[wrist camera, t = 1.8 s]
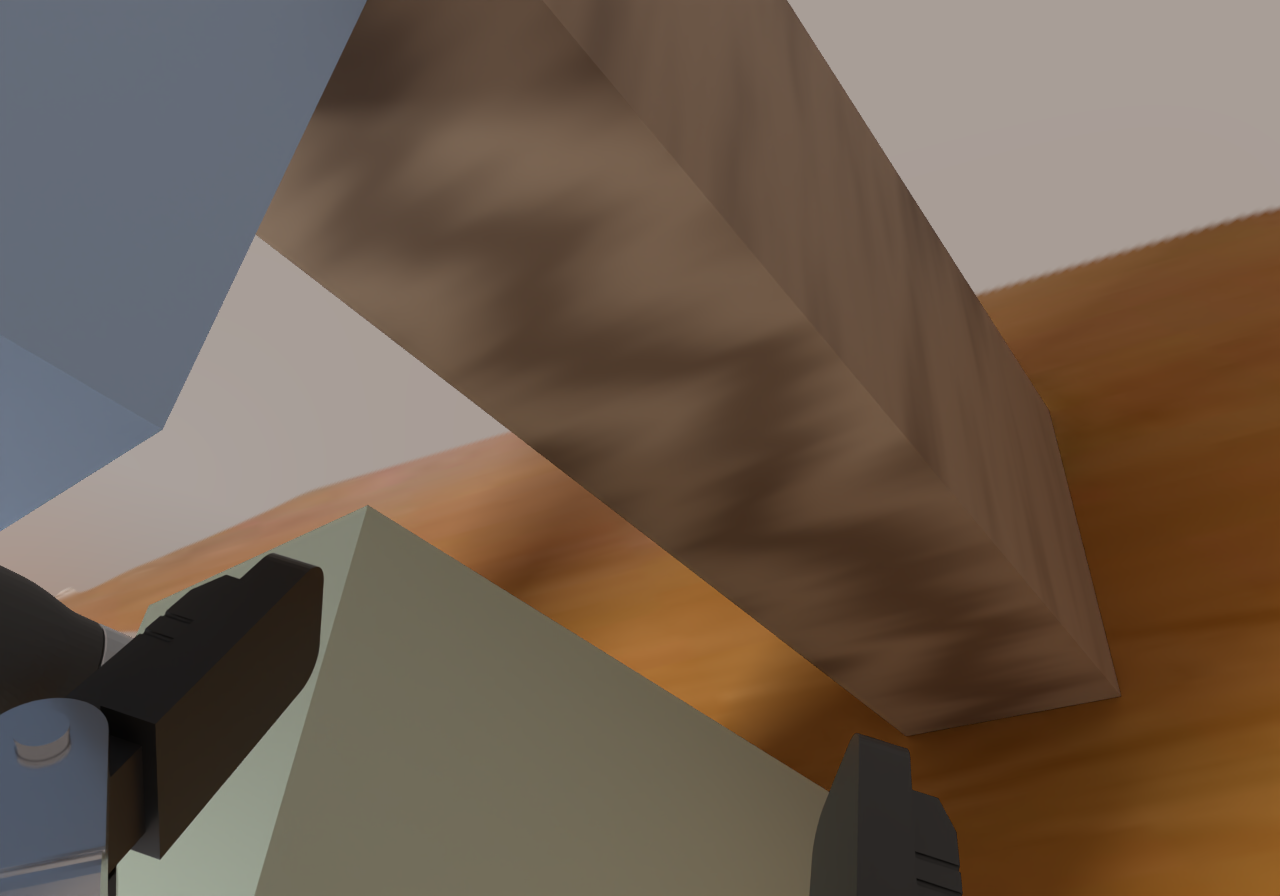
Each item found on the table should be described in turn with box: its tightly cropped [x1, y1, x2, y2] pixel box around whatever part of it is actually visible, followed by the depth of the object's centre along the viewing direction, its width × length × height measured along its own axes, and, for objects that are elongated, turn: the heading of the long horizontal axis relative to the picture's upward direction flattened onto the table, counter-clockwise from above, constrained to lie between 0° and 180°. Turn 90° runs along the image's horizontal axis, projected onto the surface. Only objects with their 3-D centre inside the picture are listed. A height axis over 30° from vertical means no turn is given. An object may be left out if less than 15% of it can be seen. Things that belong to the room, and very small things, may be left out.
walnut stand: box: [256, 0, 1121, 736], centre depth 30 cm, size 8×13×32 cm, turn 176°
